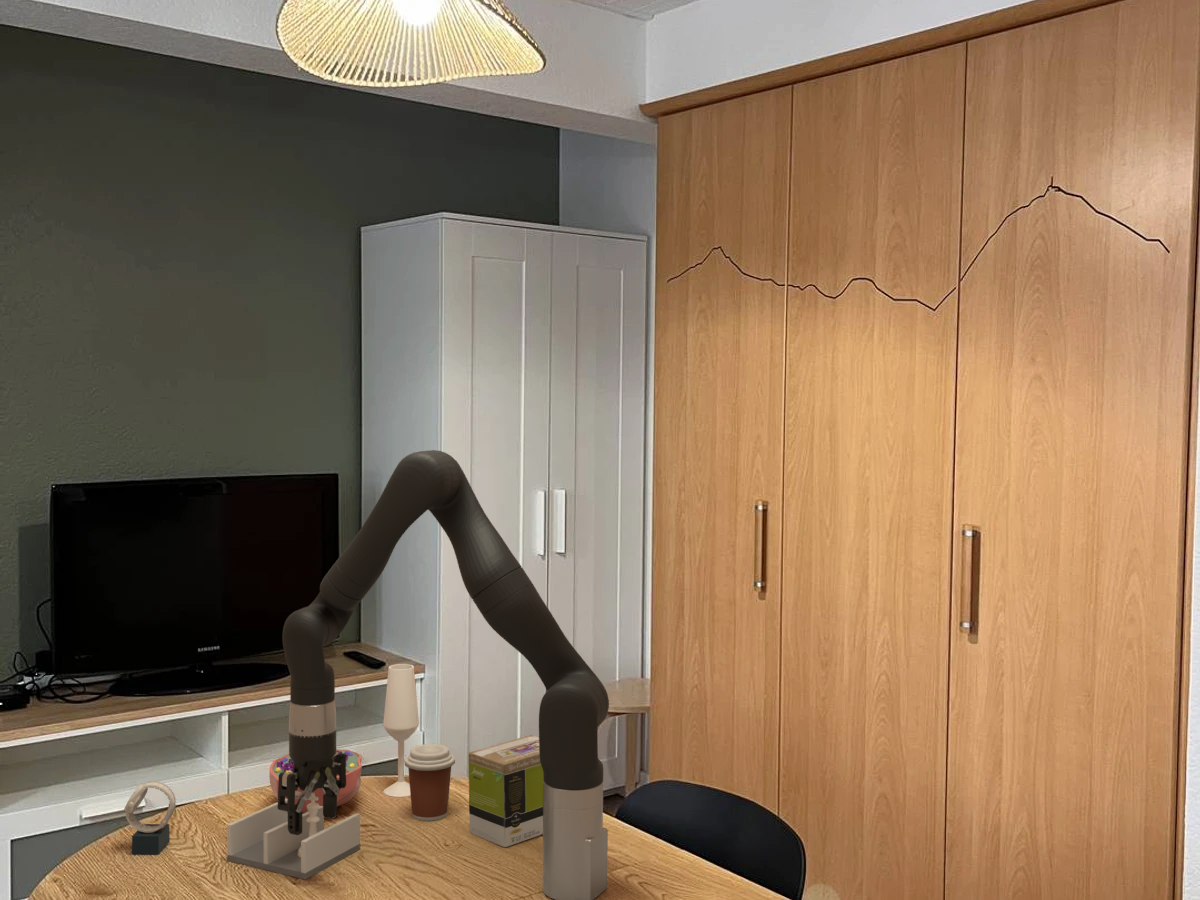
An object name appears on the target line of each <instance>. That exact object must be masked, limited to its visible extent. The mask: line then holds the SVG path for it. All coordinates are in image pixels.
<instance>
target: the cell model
mask: <svg viewBox="0 0 1200 900" xmlns="http://www.w3.org/2000/svg"><path fill="white" fill-rule="evenodd" d="M336 752H339V753H343V754H345V765H346V786H345V788H341V789H340V791H339V794H338V795H337V808H338V807H341V806H342V805H344V804H346V803H348V802H349V801H350V800H351V799H352V798H353V797H354V796H355V795H356V793H357V792H358V791H359V790H360V788H361V784H362V783H361V782H362V778H361V777H362V776H361V775H362V769H363V767H362V766H363V765H362V758H363V756H362V754H360V753H358V752H356V751H353V750H349V749H343V748H342V749H341V748H340V749H338V748H336ZM293 766H294V762H293V760H292V759H291V758H290V756H289V753H287V754H285V755H283V756H281V757H278V758H276V759H274V760H273V761H272V763H270V765H269V775H268V777H269V784H270V788H271V791H272V793H273V795H274V797H275V798H276V799H277V800H278V782H279V774H280V773H281V772H283V773H290V772H292V770H293ZM337 780H339V775H338V774H337ZM297 791H299V792H303V791H302V790H301V789H300V788H299V787H298V789H297ZM311 793H315V797H318V800H315V803H318V804H319V806H323V795H324V794H326V793H324V791H323V790H322V788H318V789H316V790H315V791H314V792H311ZM310 796H311V795H310ZM285 799H288V798H287V797H285ZM298 799H299V798H296V800H295V804H297V802H298ZM309 803H311V800H306V801H305V803H304V805H303V808H302V810H301V812H302V814H304V813H306V812H308V809H307V805H308V804H309Z"/></svg>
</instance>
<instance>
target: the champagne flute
mask: <svg viewBox="0 0 1200 900" xmlns="http://www.w3.org/2000/svg"><path fill="white" fill-rule="evenodd" d="M386 681H387V682H386V693H385V704H384V712H383V713H384V714H383V724H382V725H383V727H384V728H383V729H384V730H385V732H386V733H387V734H388V735H389V736H391V737H392V738H393V739H394V740H395V741H397V781H396V782H393V784H391V785H389V786H388V787H386V788H385V789H384V790H383V791H382V792H383V794H384V795H386V796H389V797H395V798H399V797H401V798H403V797H404V798H405V797H409V796H410V797H411V794H410V782H407V781H406V780H405V741H406V740H408V739H409V738H410V737H411V736H412V735H413V734H414V733H415V732H416V731H417V729H418V727H419V724H420V722H419V721H420V720H419V708H418V707H419V706H418V699H417V697H418V696H417V687H416V677H415V666H414V665H413V664H409V663H396V664H392V665H389V666H388V670H387V680H386Z"/></svg>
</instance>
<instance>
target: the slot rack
mask: <svg viewBox="0 0 1200 900" xmlns="http://www.w3.org/2000/svg"><path fill="white" fill-rule="evenodd" d="M287 801H288V799H285V803H287ZM316 816H317V817H319V819H320V820H319V821H318V822H316V828H317V833H316V834H314V835H312V836H310V837H309V829H310V823H309V822H307V821H306V820H307V818H308V817H310V815H309V812H306V813H304V814H302V833H301V834H299V835H294V834H290V833H289V831H288V813H287V811H282V810H278V801H277V802H275V803H272V804H270V805H268V806H266V807H264V808H261V809H259V810H257V811H255V812H252V813H250V814H247V815H246V816H243V817H242V818H239V819H237V820H234V821H232V822H230V823H228V824H227V827H226V829H227V832H226V833H227V834H226V837H227V840H226V841H227V844H226V845H227V846H226V847H227V853H226V854H227V857H226V858H227V862H232V863H235V864H239V865H244V866H247V867H252V868H256V869H261V870H264V871H267V872H268V871H269V872H272V873H277V874H280V875H281V874H282V875H285V876H288V877H293V878H296V879H297V878H298V879H301V880H307V879H309V878H310V877H312V876H314V875H316V874H318V873H320V872H321V871H323V870H325V869H327V868H329V867H330V866H332V865H334V864H336V863H338V862H340V861H341V860H343V859H345V858H347V857H348V856H350V855H353V854H355V853H357V852H358V851H360V850H361V814H360V813H359V812H358V813H354V814H352V815H350V816H348V817H346V818H344V819H342V820H340V821H338V822H337V823H335V824H333V825H330V826H328V827H327V828H325V817H324V816H323V806H319V809H318V811H317V815H316ZM300 847H301V857H299V856H298V849H299V848H300Z"/></svg>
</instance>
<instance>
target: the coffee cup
mask: <svg viewBox="0 0 1200 900" xmlns="http://www.w3.org/2000/svg"><path fill="white" fill-rule="evenodd" d="M455 763H456V757H455V755H454V754H452V753H451V752H450V748H449V747H448V746H446V745H444V744H439V743H424V744H419V745H415V746H414V747H412V748H411V749H410V750H409V754H408V755H407V756H405V757H404V767H406V768H408V779H409V782H408V783H409V784H410V794H411V795H410V803H411V817H412V818H413V819H414V820H418V821H424V822H434V821H440V820H443V819H444V818H446V817H447V816H448V810H449V797H450V785H451V775H452V773H451V772H452V766H454V765H455Z"/></svg>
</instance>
